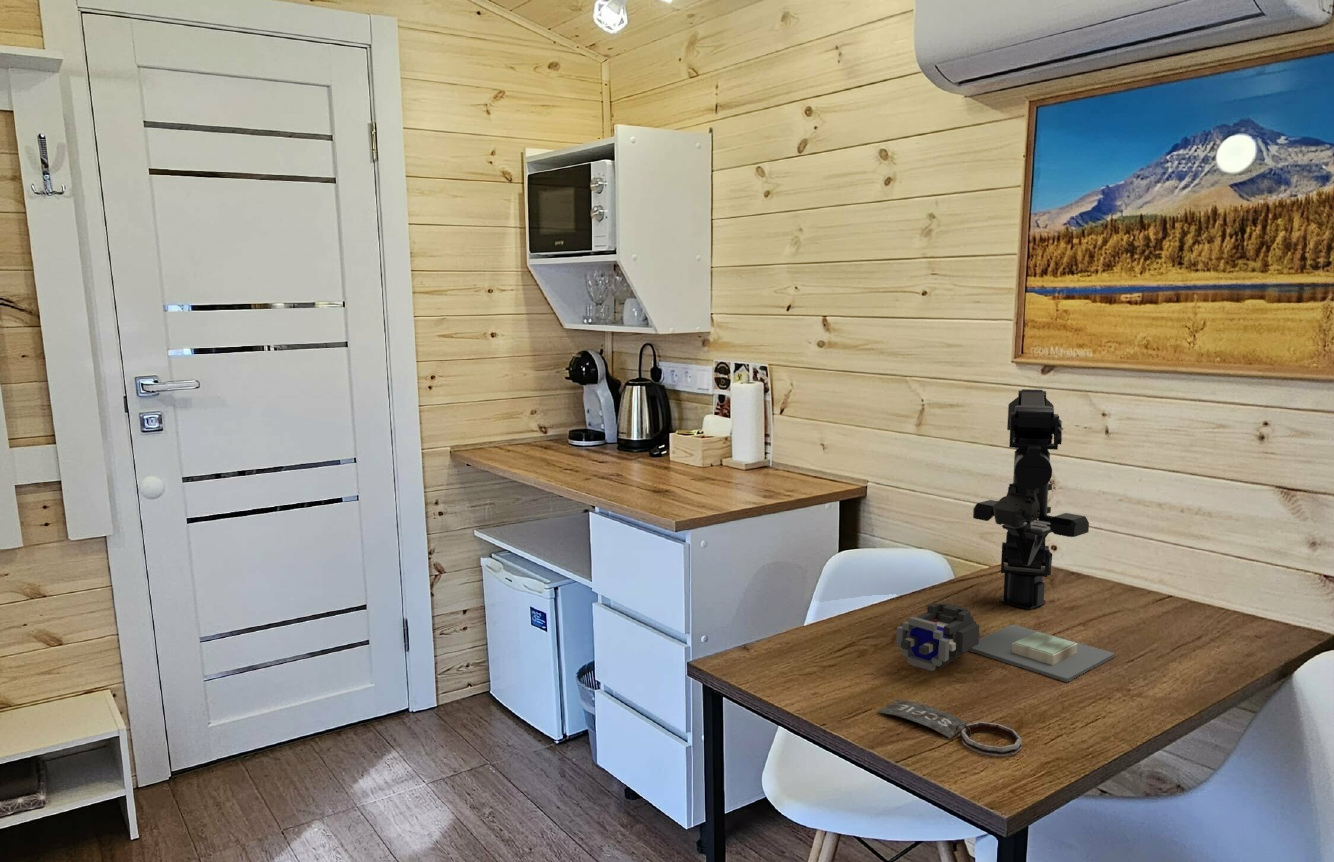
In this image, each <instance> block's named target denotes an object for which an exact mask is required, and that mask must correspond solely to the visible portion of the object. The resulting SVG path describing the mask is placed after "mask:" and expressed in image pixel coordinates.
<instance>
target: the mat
mask: <svg viewBox="0 0 1334 862" xmlns="http://www.w3.org/2000/svg"><path fill="white" fill-rule="evenodd" d="M1036 632H1040V633H1044V632H1042V631H1038V630H1034V629H1031V628H1027V627H1024V626H1020V625H1018V624H1010V625H1008V626H1005V627H1003V628H1001V629H999V630H997V631H993V632H991V633H989V634H987V635H984V636H982V637H979V644H977V645H976V646H974V647H972V649H970V650H968V651H969V652H972V653H975V654H978V655H981V656H984V657H987V658H990V659H994V660H996V661H999V662H1002V663H1006V664H1008V665H1011V666H1014V667H1018V668H1021V667H1022V668H1021V669H1025V670H1027V671H1031V672H1034V673H1036V672H1037V674H1039V673H1041V674H1040V675H1043V676H1045V675H1046V677H1049V676H1050V677H1049V678H1051V679H1055V680H1058V679H1059V680H1058V681H1062V682H1065V683H1069V682H1071V681H1073V680H1074V678H1075V679H1077V678H1078V677H1080V676H1082V675H1084V674H1086V673H1087V671H1088V670H1090V669H1091V670H1094V669H1095V668H1097V667H1099V666H1101V665H1102V664H1105V663H1106V662H1108V661H1110V660H1112V659H1113V658H1115V657H1116V653H1115V652H1112V651H1108V650H1105V649H1100V648H1097V647H1094V646H1090V645H1086V644H1083V643H1079V642H1076V641H1073V640H1069V639H1065V638H1062V637H1060V636H1055V635H1052V634H1049V633H1046V632H1045V633H1044V634H1047V635H1051V636H1054V637H1058V638H1061V639H1065V640H1068V641H1072V642H1075V643H1077V644H1078V645H1077V653H1076V654H1074V655H1072V656H1070V657H1068V658H1066V659H1064V660H1062V661H1060V662H1058V663H1056V664H1054V665H1050V664H1047V663H1044V662H1041V661H1038V660H1034V659H1031V658H1028V657H1025V656H1022V655H1018V654H1015V653H1012V643H1014V642H1016V641H1018V640H1020V639H1023V638H1025V637H1027V636H1029V635H1031V634H1034V633H1036ZM968 651H967V652H968ZM1094 667H1095V668H1094ZM1091 670H1090V671H1091ZM1085 672H1086V673H1085ZM1088 672H1089V671H1088ZM1083 673H1084V674H1083ZM1081 674H1082V675H1081ZM1079 675H1080V676H1079ZM1077 676H1078V677H1077ZM1076 677H1077V678H1076ZM1072 679H1073V680H1072ZM1068 681H1069V682H1068Z"/></svg>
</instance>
